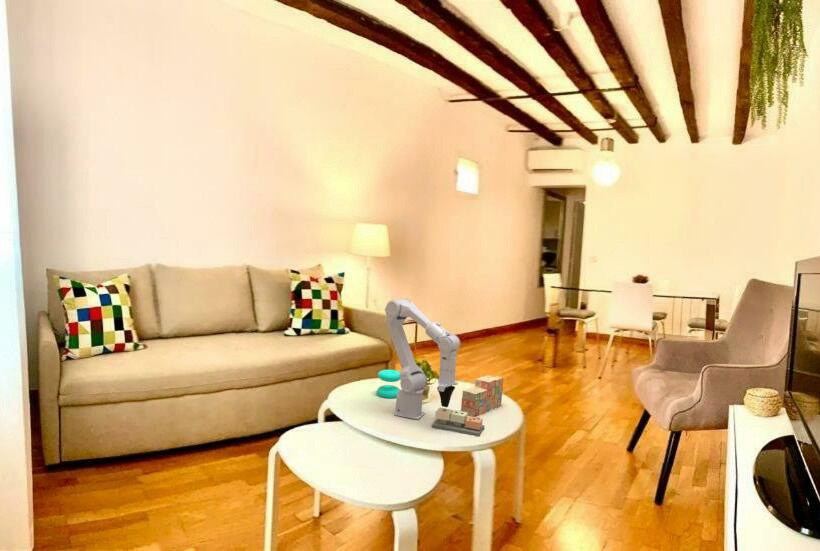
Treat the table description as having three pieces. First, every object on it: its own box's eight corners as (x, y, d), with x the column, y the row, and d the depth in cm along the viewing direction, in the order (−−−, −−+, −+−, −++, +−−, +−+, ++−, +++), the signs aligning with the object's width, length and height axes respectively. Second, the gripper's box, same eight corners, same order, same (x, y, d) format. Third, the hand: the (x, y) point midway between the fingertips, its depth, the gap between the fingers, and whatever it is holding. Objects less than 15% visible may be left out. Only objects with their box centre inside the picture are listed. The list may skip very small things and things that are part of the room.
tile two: (450, 420, 180) (450, 413, 180) (453, 416, 185) (454, 409, 185) (464, 423, 178) (464, 415, 178) (467, 419, 183) (467, 411, 183)
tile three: (465, 427, 178) (465, 419, 178) (468, 422, 183) (468, 415, 183) (479, 429, 177) (479, 422, 176) (482, 425, 181) (482, 418, 181)
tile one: (435, 418, 182) (435, 410, 182) (439, 414, 187) (439, 406, 186) (448, 420, 180) (449, 413, 180) (452, 416, 185) (453, 409, 185)
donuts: (385, 367, 221) (406, 371, 217) (383, 390, 222) (404, 394, 218) (373, 372, 212) (395, 376, 208) (372, 395, 213) (393, 400, 209)
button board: (431, 427, 180) (432, 419, 180) (438, 419, 189) (439, 411, 189) (479, 436, 175) (479, 427, 175) (484, 428, 183) (484, 420, 183)
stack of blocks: (474, 417, 194) (476, 386, 194) (460, 413, 198) (462, 382, 197) (501, 406, 211) (503, 377, 210) (488, 402, 215) (490, 374, 214)
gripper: (453, 375, 174) (450, 414, 175) (463, 366, 188) (460, 402, 189) (433, 372, 177) (430, 410, 177) (444, 363, 190) (442, 399, 191)
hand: (444, 406), depth 183 cm, fingers closed
